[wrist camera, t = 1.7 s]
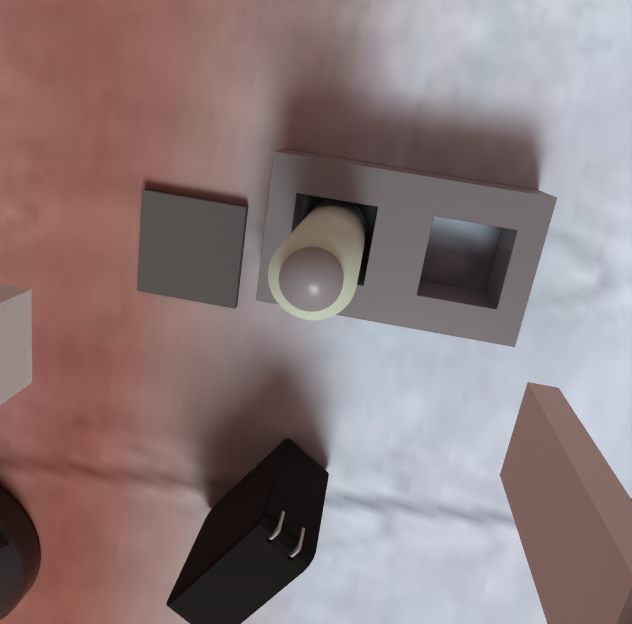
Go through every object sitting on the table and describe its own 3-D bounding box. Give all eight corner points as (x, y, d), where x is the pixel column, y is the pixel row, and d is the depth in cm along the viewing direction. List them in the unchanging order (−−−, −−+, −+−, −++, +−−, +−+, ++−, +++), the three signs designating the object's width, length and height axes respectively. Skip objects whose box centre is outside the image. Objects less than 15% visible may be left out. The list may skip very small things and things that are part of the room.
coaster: (140, 288, 41) (137, 290, 40) (146, 188, 38) (142, 189, 38) (236, 305, 40) (234, 308, 40) (248, 206, 38) (246, 207, 37)
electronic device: (207, 510, 46) (161, 610, 36) (289, 433, 43) (262, 519, 33) (247, 543, 46) (211, 649, 37) (330, 468, 43) (315, 564, 34)
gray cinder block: (268, 283, 39) (255, 300, 36) (285, 149, 37) (274, 151, 33) (502, 325, 38) (514, 347, 35) (538, 190, 36) (556, 197, 32)
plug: (302, 253, 39) (259, 316, 26) (310, 193, 37) (271, 227, 24) (361, 263, 38) (348, 331, 25) (371, 203, 37) (364, 243, 24)
